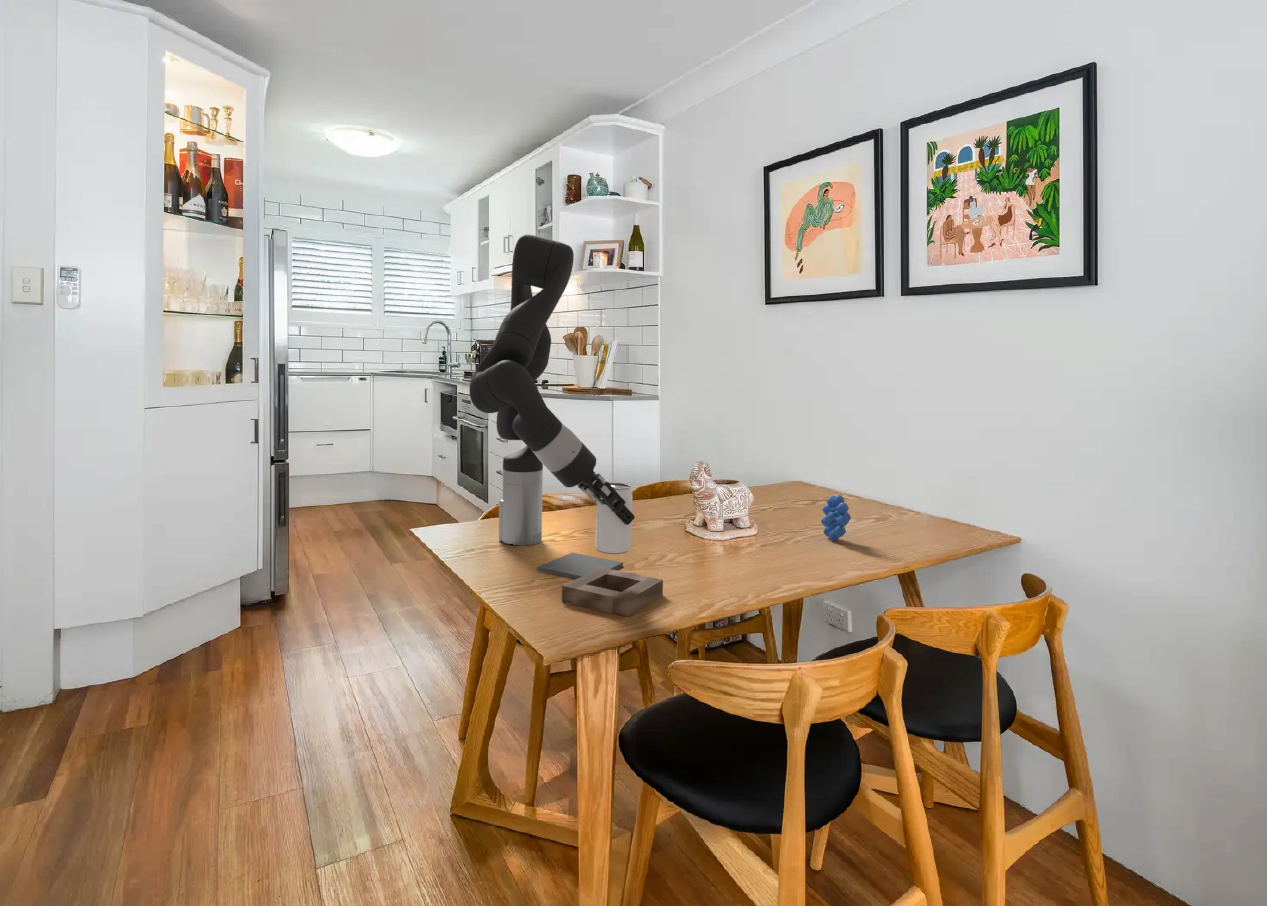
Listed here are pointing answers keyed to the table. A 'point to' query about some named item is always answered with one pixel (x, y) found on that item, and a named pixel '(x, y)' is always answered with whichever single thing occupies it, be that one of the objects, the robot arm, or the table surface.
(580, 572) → the mat
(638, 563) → the table surface
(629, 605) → the collar
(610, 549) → the can
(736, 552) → the table surface
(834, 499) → the grapes
